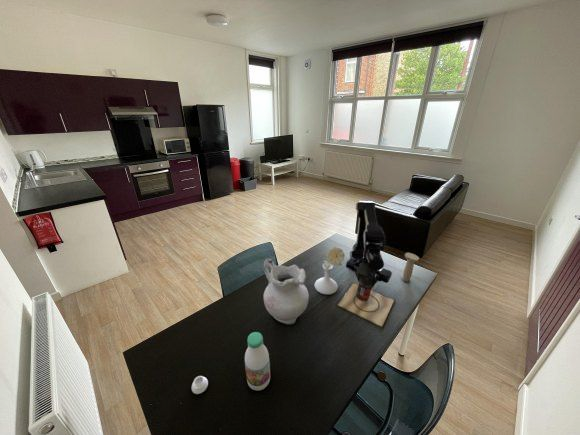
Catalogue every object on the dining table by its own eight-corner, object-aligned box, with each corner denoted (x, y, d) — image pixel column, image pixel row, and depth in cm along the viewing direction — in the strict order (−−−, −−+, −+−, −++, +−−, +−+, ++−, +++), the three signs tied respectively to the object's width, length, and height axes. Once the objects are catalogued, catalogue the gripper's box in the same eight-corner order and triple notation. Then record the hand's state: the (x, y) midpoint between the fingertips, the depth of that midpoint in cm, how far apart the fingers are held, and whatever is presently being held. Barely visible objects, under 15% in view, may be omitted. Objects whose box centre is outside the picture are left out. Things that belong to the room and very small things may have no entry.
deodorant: (369, 293, 114) (376, 269, 107) (368, 302, 109) (375, 278, 102) (356, 290, 115) (362, 266, 108) (355, 299, 110) (361, 274, 103)
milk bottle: (248, 368, 83) (243, 328, 74) (270, 366, 84) (267, 326, 75) (246, 392, 76) (240, 351, 67) (270, 390, 77) (267, 348, 68)
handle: (403, 275, 128) (409, 251, 122) (414, 282, 123) (421, 257, 117) (397, 278, 126) (403, 254, 119) (408, 285, 121) (414, 260, 114)
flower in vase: (311, 293, 116) (313, 249, 105) (318, 278, 126) (320, 237, 115) (338, 300, 112) (343, 256, 101) (342, 285, 121) (347, 243, 111)
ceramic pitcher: (252, 319, 103) (245, 276, 91) (273, 288, 119) (270, 248, 106) (297, 338, 95) (296, 293, 83) (314, 302, 110) (315, 260, 98)
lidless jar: (205, 394, 76) (209, 378, 80) (204, 388, 74) (208, 372, 79) (189, 394, 76) (194, 378, 80) (188, 389, 74) (193, 373, 79)
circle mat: (337, 305, 109) (337, 304, 109) (353, 284, 122) (353, 283, 122) (382, 327, 98) (382, 326, 98) (393, 301, 111) (394, 300, 111)
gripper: (342, 257, 101) (339, 285, 107) (387, 273, 91) (380, 304, 97) (352, 245, 109) (349, 272, 116) (395, 259, 99) (388, 288, 106)
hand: (365, 284), depth 108 cm, fingers closed on deodorant, 6 cm apart
